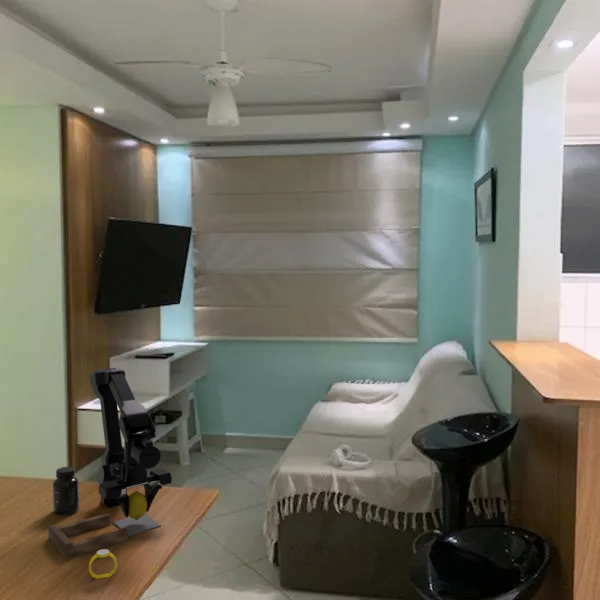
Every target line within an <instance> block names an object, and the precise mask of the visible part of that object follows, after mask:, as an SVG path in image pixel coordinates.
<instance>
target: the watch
mask: <svg viewBox="0 0 600 600" xmlns="http://www.w3.org/2000/svg"><path fill="white" fill-rule="evenodd" d="M107 557H111V558H112V560H113V561H114V565H113V566H114V567H113V569H112V570H111V571H110V572H109V573H103V574H97V573H94V571H93V569H92V564H93V562H94V561H95V560H96V559H97V558H101V559H103V558H107ZM117 568H118V563H117V557H116V556H115V555H114V553H112V552H110V550H109V549H106V548H103V549H102V548H100V549H98V550H97V551H96V553H95V554H94V555H93V556H92V557H91V559H90V560H89V562H88V572H89V574H90V576H91V577H92V578H94V579H95V580H100V579H106V578H111V577H112V576H113V575H114V574H115V573H116V570H117Z"/></svg>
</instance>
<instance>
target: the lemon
mask: <svg viewBox="0 0 600 600" xmlns="http://www.w3.org/2000/svg"><path fill="white" fill-rule="evenodd" d="M128 495H129V514H128V518H129V517H131V518H133V519H135V520H138V519H139V518H141V517H142V516H143V515H144V514H146V513H147V512H146V510H147V500H146V497H145V493H143V492H141V491H138V490H135V491H134V492H132V493H130V494H128Z"/></svg>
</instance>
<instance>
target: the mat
mask: <svg viewBox="0 0 600 600" xmlns="http://www.w3.org/2000/svg"><path fill="white" fill-rule="evenodd" d="M113 524H114V525H115V526H116V525H117V526H116V527H118V528H119V530H120V529H123V528H126V529H127V530H128V537H131V536H134V535H137V534H140V533H144V532H147V531H150V529H151V530H153V529H156V528H159V527H161V526H162V524H160V523H159V522H157V521H156V520H154V519H153V518H152V517H150V516H149V515H147V514H146V513H145V514H144V515H143V516H142V517H141V518H139V519H138V520H135V519H133V518H131V517H129V516H128V517H127V518H126V517H125V518H123V519H122V518H121V519H119V520H118V519H117V520H114V521H113Z"/></svg>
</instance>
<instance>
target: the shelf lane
mask: <svg viewBox="0 0 600 600" xmlns="http://www.w3.org/2000/svg"><path fill="white" fill-rule="evenodd" d="M108 525H111V522H110V514H109V513H107V512H106V513H103V514H98V515H95V516H92V517H89V518H86V519H82V520H77V521H75V522H71V523H67V524H63V525H60V526H57V525H56V524H54V523H53V524H49V525H48V526H47V527H48V529H47V531H48V540H49V541H50V542H51V544H52V545H53V546H54V547H56V548H57V550H58V551H59V552H60V554H62V555H63V556H64V557H65V558H66V559H69V558H70V559H71V558H73V557H76V556H79V555H82V554H85V553H88V552H92V551H95V550H100V549H102V548H105V547H107V546H111V545H114V544H118V543H121V542H124V541H127V540H129V536H128V530H127V529H126V528H123V529H120V528H119V529H117V530H114V531H110V532H107V533H104V534H100V535H96V536H93V537H90V538H87V539H83V540H80V541H76V542H73V541H72V540H71V539H69V538H68V537H70V536H73V534H74V535H77V534H80V533H79V532H81V533H84V532H87V531H90V529H91V530H94V529H98V528H101V527H104V526H108ZM86 530H87V531H86ZM83 531H84V532H83ZM76 533H77V534H76Z"/></svg>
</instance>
